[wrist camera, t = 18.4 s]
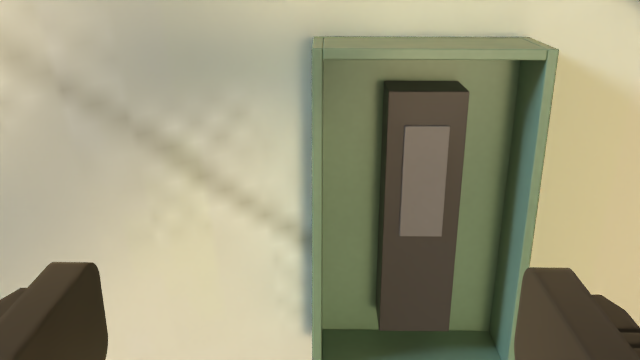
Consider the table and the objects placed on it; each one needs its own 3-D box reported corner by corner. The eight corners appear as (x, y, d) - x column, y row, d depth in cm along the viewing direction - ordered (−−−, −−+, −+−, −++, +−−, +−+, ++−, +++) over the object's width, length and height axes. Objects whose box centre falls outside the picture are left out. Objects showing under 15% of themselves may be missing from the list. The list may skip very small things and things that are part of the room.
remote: (375, 304, 43) (379, 332, 40) (383, 80, 38) (388, 91, 34) (440, 305, 43) (449, 333, 40) (458, 80, 38) (470, 92, 34)
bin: (314, 330, 45) (312, 375, 40) (313, 36, 37) (311, 48, 33) (494, 332, 44) (514, 378, 40) (529, 37, 37) (559, 49, 32)
